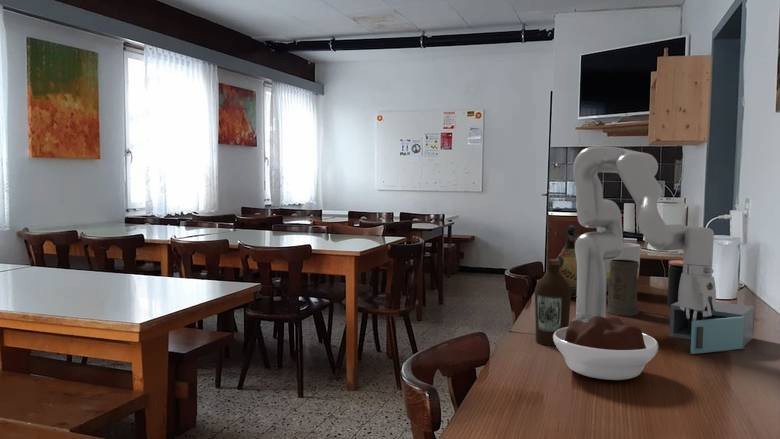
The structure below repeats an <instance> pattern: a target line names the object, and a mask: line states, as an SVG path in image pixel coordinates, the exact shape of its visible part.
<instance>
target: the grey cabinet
mask: <svg viewBox="0 0 780 439" xmlns="http://www.w3.org/2000/svg"><path fill="white" fill-rule="evenodd" d="M669 309H670V310H669V333H668V334H669V335H668V336H669V337H670V338H671V337H672V338H675V339H676V338H678V339H684V340H689V341H691V333H688V319H687V317H686V313H685V311H683V310H681V309H680V305H679V303H678V302H676V303H674V304H672V305H670V307H669ZM711 314H712V316H709V317H704V319H703V320H707V319H719V318H730V317H741V316H744V317H746V326H745V346H746V345H747V344H748V343H749V342H751V341H753V339H754V328H755V306H754V305H753V306H752V305H744V304H737V303H729V302H721V301H716V309H715V310H714V311H711Z"/></svg>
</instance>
